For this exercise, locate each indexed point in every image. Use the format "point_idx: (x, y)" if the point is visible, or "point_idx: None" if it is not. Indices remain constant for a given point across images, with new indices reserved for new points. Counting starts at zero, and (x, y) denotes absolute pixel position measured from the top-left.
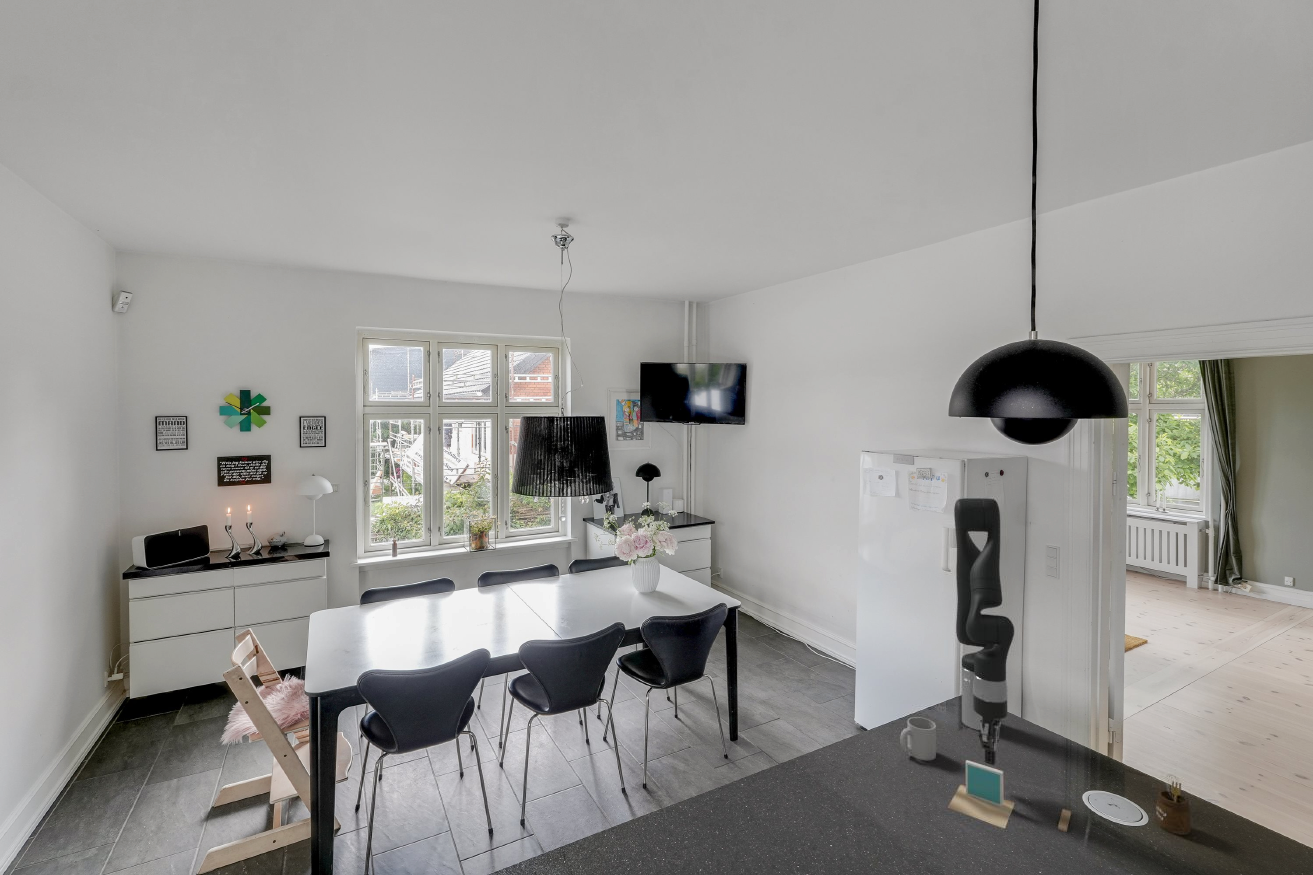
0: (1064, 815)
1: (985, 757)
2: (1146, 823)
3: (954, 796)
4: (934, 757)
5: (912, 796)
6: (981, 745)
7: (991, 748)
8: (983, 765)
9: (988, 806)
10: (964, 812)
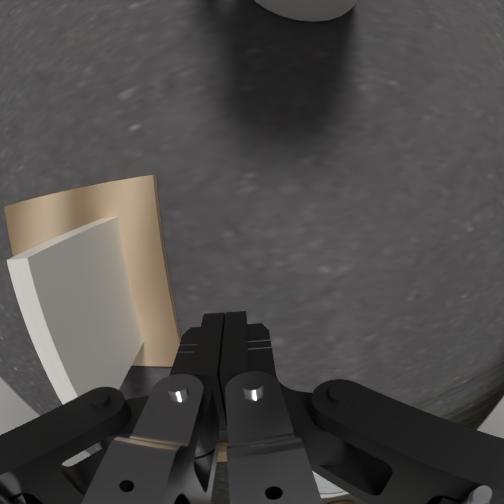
0: (218, 455)
1: (202, 330)
2: (321, 498)
3: (59, 194)
4: (298, 17)
5: (6, 99)
6: (53, 409)
7: (90, 462)
8: (57, 355)
9: None
10: (17, 254)
